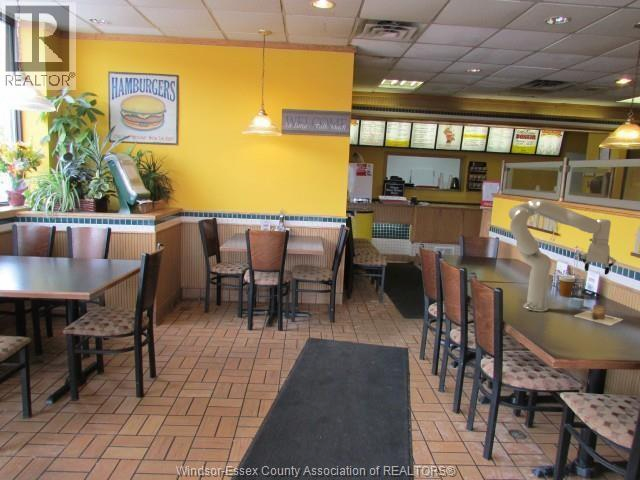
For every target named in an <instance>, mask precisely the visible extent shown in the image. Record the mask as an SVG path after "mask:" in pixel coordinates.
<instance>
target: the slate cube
mask: <svg viewBox="0 0 640 480" xmlns="http://www.w3.org/2000/svg"><path fill="white" fill-rule="evenodd" d="M584 301H585V299H583V298H579V297H578V298H577V297H573V298H570V302H569V303H570V305H569V306H570V307H571V308H577V309H581V308H584Z"/></svg>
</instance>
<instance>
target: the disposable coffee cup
mask: <svg viewBox="0 0 640 480" xmlns="http://www.w3.org/2000/svg"><path fill="white" fill-rule="evenodd" d="M558 280H559V284H558V285H559V287H558V289H559V295H560V296H561V297H565V298H569V297H571V296H572V292H573V289H574V286H575V282H576V277H574V276H570V275H559V277H558Z"/></svg>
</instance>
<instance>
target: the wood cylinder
mask: <svg viewBox="0 0 640 480" xmlns="http://www.w3.org/2000/svg"><path fill="white" fill-rule="evenodd" d="M606 309H607V307H606V306H604V305H600V304H599V305H598V304H595V305H593V307H592V312H593V315H592V317H593V318H596V319H604V318H605V315H606Z"/></svg>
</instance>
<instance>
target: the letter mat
mask: <svg viewBox="0 0 640 480" xmlns="http://www.w3.org/2000/svg"><path fill="white" fill-rule="evenodd" d="M592 315H593V311H591V310H585V311H582V312H580V313H577V314H575V315H573V317H575V318H580V319H583V320H587V321H591V322H596V323H598V324H603V325H606V326H613V325H615V324H616V323H620V322H621V321H623V320H624V319H623V318H621V317H620V318H619V317H615V316H611V315H607V314H605V318H604V319H596V318H593V317H592Z"/></svg>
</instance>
